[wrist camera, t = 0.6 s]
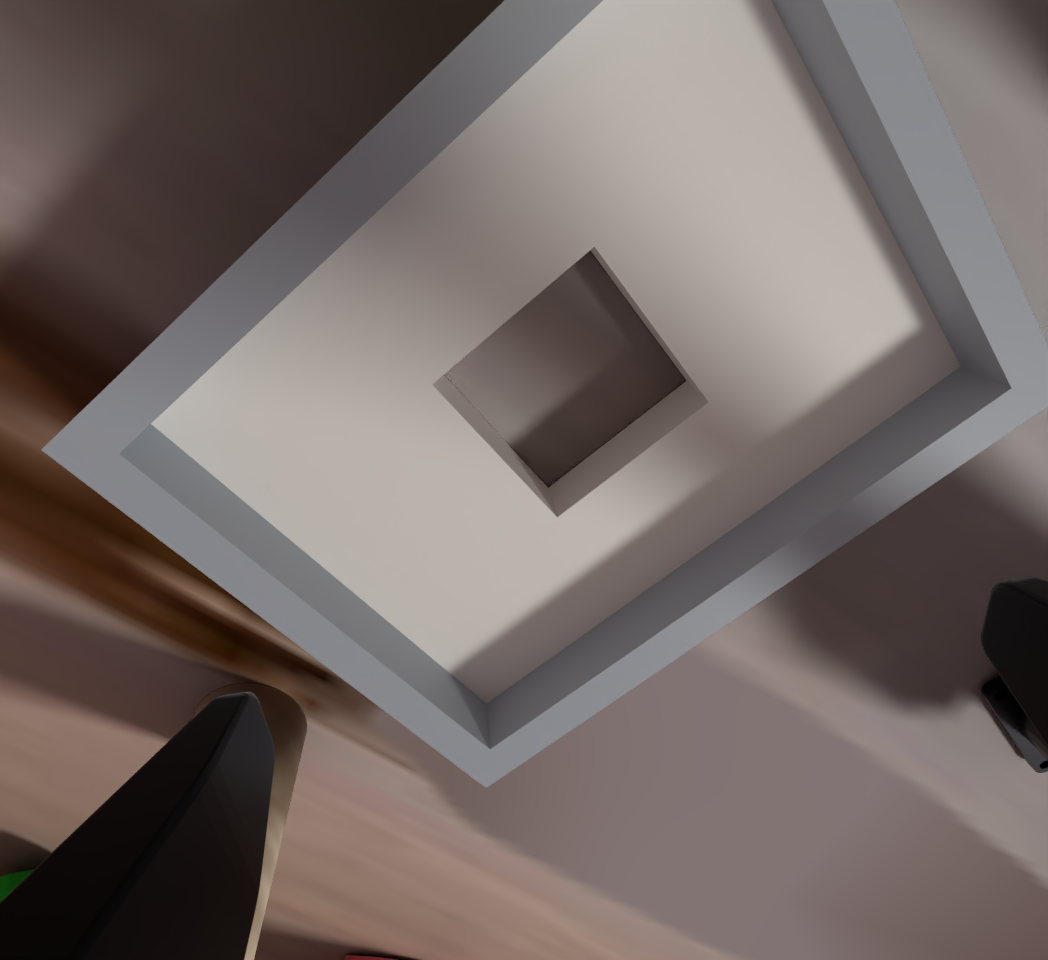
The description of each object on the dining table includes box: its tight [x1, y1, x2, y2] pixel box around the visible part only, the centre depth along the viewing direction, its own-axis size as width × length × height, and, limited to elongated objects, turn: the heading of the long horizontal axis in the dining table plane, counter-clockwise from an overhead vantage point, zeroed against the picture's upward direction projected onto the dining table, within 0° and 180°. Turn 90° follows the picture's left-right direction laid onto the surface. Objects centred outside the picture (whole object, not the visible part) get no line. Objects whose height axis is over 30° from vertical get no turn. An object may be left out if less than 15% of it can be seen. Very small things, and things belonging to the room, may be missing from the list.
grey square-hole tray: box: [42, 0, 1048, 788], centre depth 19 cm, size 16×20×4 cm
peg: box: [192, 683, 307, 960], centre depth 22 cm, size 4×4×8 cm
